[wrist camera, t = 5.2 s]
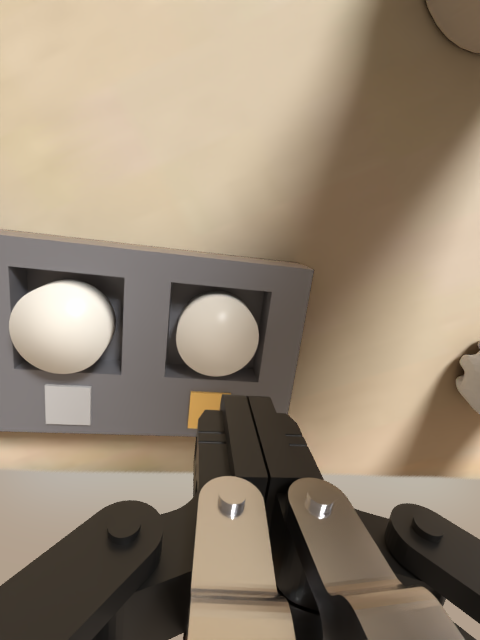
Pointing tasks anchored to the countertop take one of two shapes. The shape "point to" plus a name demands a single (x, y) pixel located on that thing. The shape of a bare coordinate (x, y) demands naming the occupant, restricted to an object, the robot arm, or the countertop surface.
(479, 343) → the bottle
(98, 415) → the panel
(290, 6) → the countertop surface
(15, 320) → the button middle
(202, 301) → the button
